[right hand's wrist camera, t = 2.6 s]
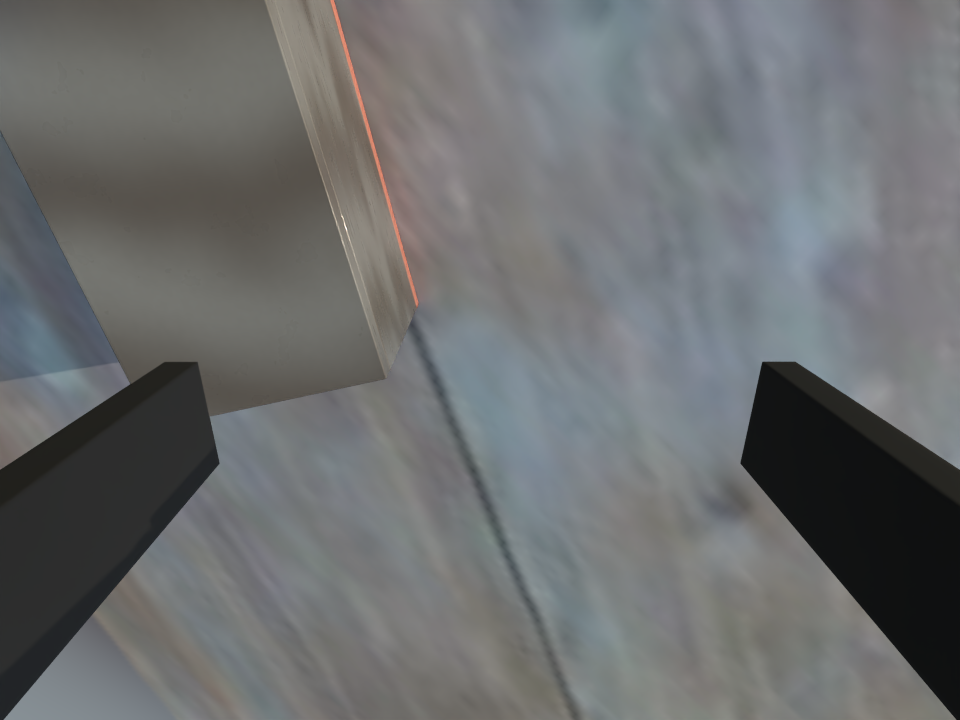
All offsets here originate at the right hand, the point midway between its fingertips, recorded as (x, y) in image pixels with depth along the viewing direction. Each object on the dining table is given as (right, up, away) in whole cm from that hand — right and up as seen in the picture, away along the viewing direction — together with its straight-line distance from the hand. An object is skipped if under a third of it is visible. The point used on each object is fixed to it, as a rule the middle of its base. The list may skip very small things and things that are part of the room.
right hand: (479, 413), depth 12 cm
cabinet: (-10, +12, +16) cm, 22 cm away
